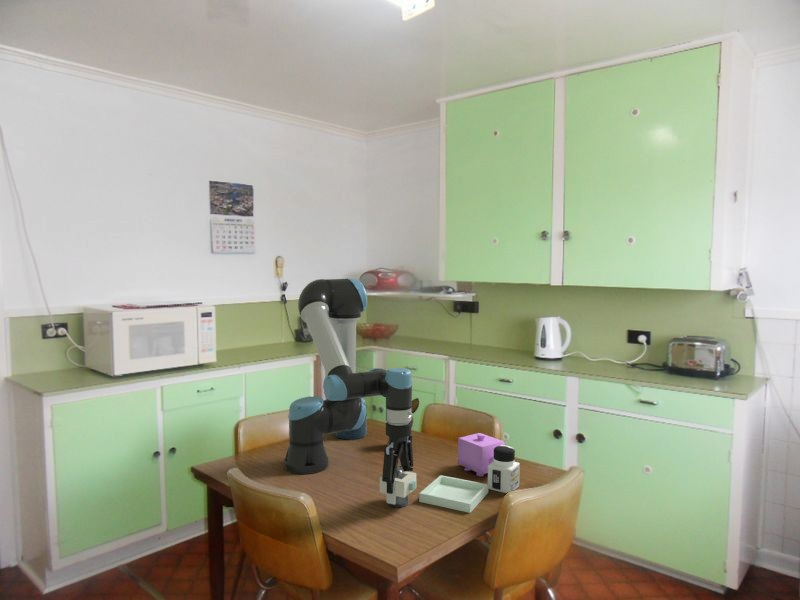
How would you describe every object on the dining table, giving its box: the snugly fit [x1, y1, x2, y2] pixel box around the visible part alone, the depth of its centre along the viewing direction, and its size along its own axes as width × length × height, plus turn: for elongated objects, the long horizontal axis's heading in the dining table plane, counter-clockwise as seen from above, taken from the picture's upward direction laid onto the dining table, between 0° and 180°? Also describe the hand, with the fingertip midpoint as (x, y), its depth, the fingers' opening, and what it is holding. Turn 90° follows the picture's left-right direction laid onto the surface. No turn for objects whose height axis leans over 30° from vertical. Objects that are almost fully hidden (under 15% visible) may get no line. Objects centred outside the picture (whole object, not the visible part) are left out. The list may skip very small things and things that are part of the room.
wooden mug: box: [386, 397, 420, 447], centre depth 221 cm, size 9×14×18 cm, turn 122°
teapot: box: [457, 432, 505, 478], centre depth 195 cm, size 20×10×12 cm, turn 35°
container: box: [487, 444, 521, 494], centre depth 181 cm, size 8×8×13 cm
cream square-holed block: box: [379, 469, 417, 498], centre depth 169 cm, size 9×8×4 cm
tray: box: [418, 474, 489, 514], centre depth 174 cm, size 16×16×3 cm
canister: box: [335, 399, 368, 440], centre depth 234 cm, size 13×13×18 cm
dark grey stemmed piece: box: [387, 465, 409, 509], centre depth 169 cm, size 6×6×11 cm
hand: (398, 497), depth 169 cm, fingers closed on cream square-holed block, 8 cm apart
